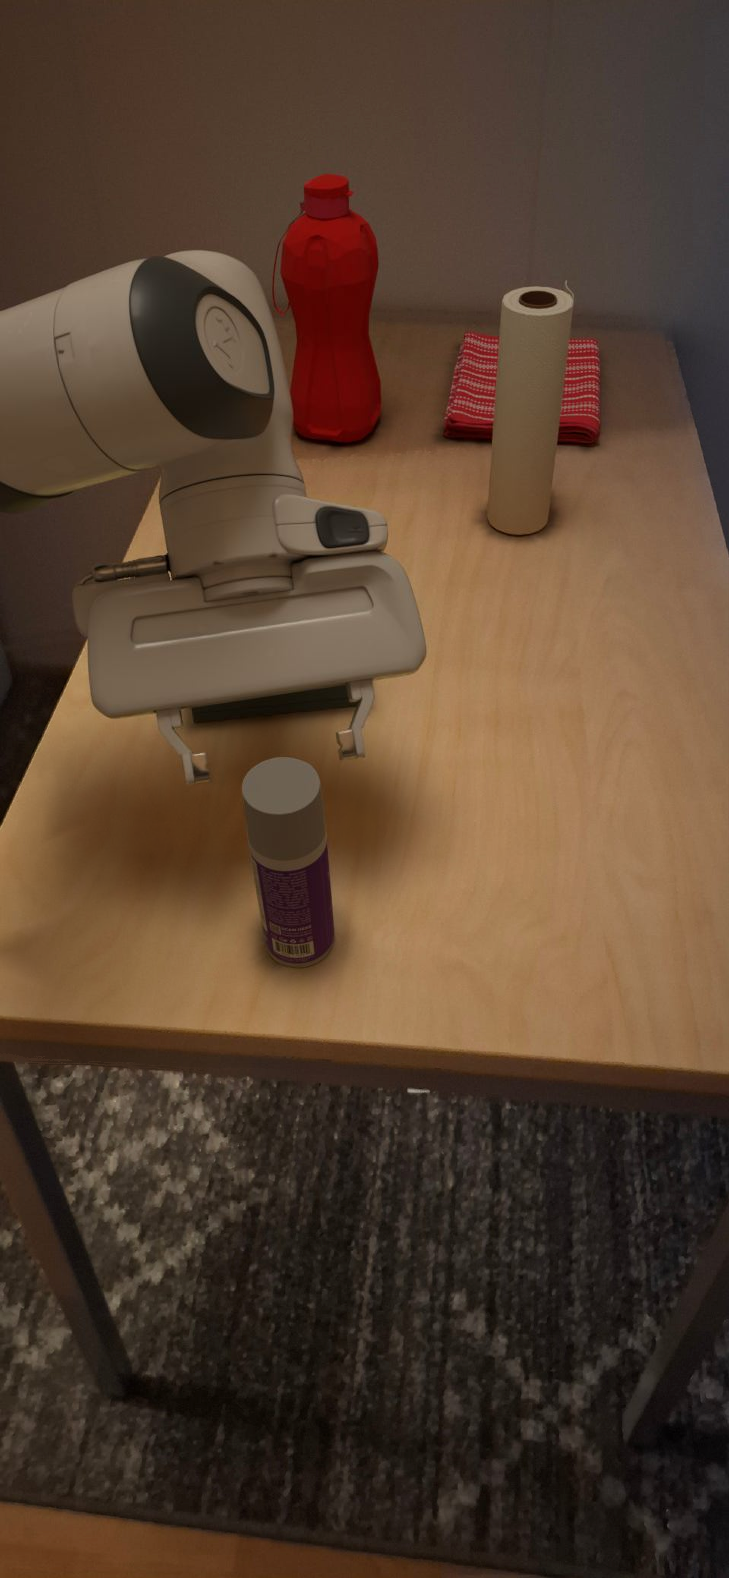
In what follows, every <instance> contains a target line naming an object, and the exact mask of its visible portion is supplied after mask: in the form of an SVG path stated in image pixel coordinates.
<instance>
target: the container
mask: <svg viewBox="0 0 729 1578" xmlns="http://www.w3.org/2000/svg"><path fill="white" fill-rule="evenodd" d="M321 786H322V785H321V779H320V775H319V773H318V772H317V770H316V769H315V768H314V766H312V765H311V764H309V763H308V762H307V761H304V760H302V759H300V758H296V757H290V756H289V757H287V756H280V757H273V758H269V759H266V760H263V761H260V762H259V763H257V764H255V766H253V767H252V768H251V769H250V770H249V771H248V772H247V773H246V775H245V776H244V778H243V780H242V783H241V794H242V803H243V810H244V818H245V826H246V827H245V828H246V834H247V843H248V850H249V851H248V852H249V855H250V862H251V863H250V864H251V868H252V874H253V881H254V885H255V891H256V897H257V905H258V910H259V915H260V916H259V917H260V921H261V926H262V927H261V928H262V933H263V934H262V935H263V939H264V943H265V948H266V950H267V954H269V956H270V957H271V958H272V959H273V960H274V961H275V962H277V963H279V964H280V965H282V966H285V967H290V968H295V969H296V968H300V969H301V968H307V967H311V966H313V965H316V964H317V963H320V962H321V961H323V960H324V959H325V958H326V957H327V956H328V955H329V954H330V953H331V951H332V950H333V946H334V944H335V937H336V935H335V922H334V920H335V919H334V907H333V897H332V883H331V869H330V858H329V845H328V835H327V829H326V827H327V826H326V819H325V810H324V802H323V794H322V787H321Z"/></svg>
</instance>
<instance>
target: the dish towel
mask: <svg viewBox="0 0 729 1578" xmlns="http://www.w3.org/2000/svg"><path fill="white" fill-rule="evenodd" d="M498 350H499V336H498V335H497V336H496V335H489V334H488V335H487V334H482V333H477V332H473V331H464V333H463V340H462V341H461V345H460V347H459V352H458V357H457V361H456V365H455V367H454V372H453V376H452V383H451V386H450V394H449V398H448V403H447V406H446V410H445V411H446V412H445V416H444V418H443V419H444V423H443V427H442V430H443V431H444V436H445V437H446V438H466V439H487V440H488V439H491V440H492V436H493V422H494V407H495V393H496V378H497V364H498ZM600 364H601V360H600V347H599V341H598V339H595V338H569V346H568V355H567V363H566V372H565V380H564V389H563V397H562V405H561V414H560V422H559V431H558V439H557V442H559V443H560V442H561V443H565V442H566V443H581V444H582V443H583V444H592V443H594V442H596V441H597V440H598V439H599V438H600V426H601V418H600V417H601V401H600V394H601V386H600V384H601V365H600Z"/></svg>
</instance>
